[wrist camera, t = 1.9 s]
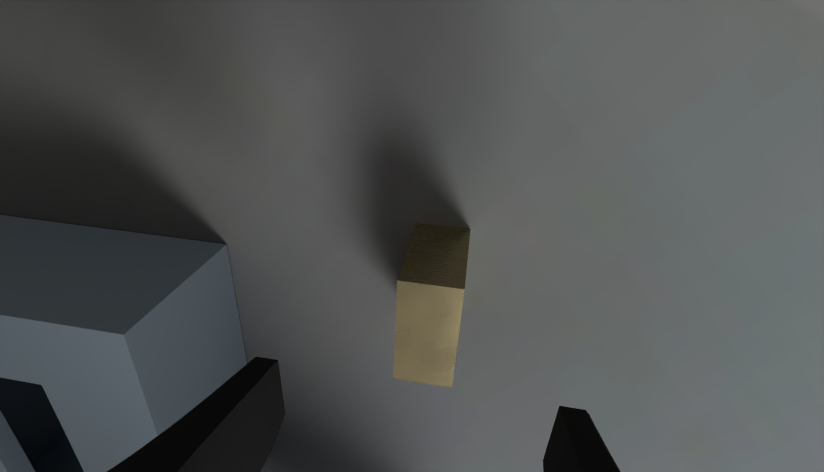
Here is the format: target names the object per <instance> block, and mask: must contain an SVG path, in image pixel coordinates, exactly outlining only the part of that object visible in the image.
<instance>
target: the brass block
mask: <svg viewBox="0 0 824 472" xmlns="http://www.w3.org/2000/svg"><path fill="white" fill-rule="evenodd" d="M469 238H470V229H462V228H454V227H445V226H437V225H428V224H420V223H417V225H416V228H415V231H414V234H413V237H412V240H411V243H410V245H409V248H408V251H407V254H406V257H405V260H404V262H403V265H402V268H401V271H400V274H399V277H398V280H397V298H396V322H395V347H394V371H393V379H399V380H406V381H412V382H418V383H424V384H430V385H436V386H443V387H449V388H452V382H453V375H454V367H455V359H456V352H457V344H458V336H459V328H460V321H461V313H462V305H463V298H464V290H465V280H466V269H467V259H468V249H469Z"/></svg>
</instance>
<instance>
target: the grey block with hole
mask: <svg viewBox="0 0 824 472" xmlns="http://www.w3.org/2000/svg"><path fill="white" fill-rule="evenodd" d="M246 364H247V360H246V354H245V348H244V342H243V336H242V331H241V325H240V319H239V313H238V308H237V302H236V296H235V290H234V284H233V279H232V273H231V267H230V261H229V256H228V250H227V244H220V243H213V242H205V241H197V240H190V239H182V238H174V237H167V236H159V235H151V234H144V233H136V232H128V231H121V230H113V229H105V228H98V227H90V226H82V225H75V224H67V223H59V222H52V221H44V220H36V219H29V218H21V217H13V216H6V215H0V472H107V471H108V470H110V469H111V468H113V467H114V466H116V465H117V464H119V463H120V462H122V461H123V460H125V459H126V458H128V457H129V456H130V455H132V454H133V453H135V452H136V451H138V450H139V449H140V448H142V447H143V446H145V445H146V444H147V443H149V442H150V441H151V440H153V439H154V438H155V437H157V436H158V435H159V434H161V433H162V432H163V431H165V430H166V429H167V428H169V427H170V426H171V425H173V424H174V423H175V422H177V421H178V420H179V419H181V418H182V417H183V416H184V415H186V414H187V413H188V412H189V411H191V410H192V409H193V408H194V407H196V406H197V405H198V404H199V403H201V402H202V401H203V400H204V399H206V398H207V397H208V396H209V395H210V394H212V393H213V392H214V391H215V390H216V389H218V388H219V387H220V386H221V385H222V384H224V383H225V382H226V381H227V380H228V379H230V378H231V377H232V376H233V375H234V374H236V373H237V372H238V371H239V370H240V369H242V368H243V367H244V366H245V365H246Z"/></svg>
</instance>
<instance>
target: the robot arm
mask: <svg viewBox="0 0 824 472" xmlns="http://www.w3.org/2000/svg"><path fill="white" fill-rule="evenodd" d="M284 415H285V410H284V403H283V395H282V387H281V380H280V372H279V364H278V360H274V359H267V358H261V357H255V358H254V359H252V360H251V361H250V362H249V363H248V364H246V365H245V366H244V367H243V368H242V369H240V370H239V371H238V372H237V373H236V374H234V375H233V376H232V377H231V378H230V379H228V380H227V381H226V382H225V383H224V384H222V385H221V386H220V387H219V388H218V389H216V390H215V391H214V392H213V393H212V394H210V395H209V396H208V397H207V398H206V399H204V400H203V401H202V402H201V403H199V404H198V405H197V406H196V407H194V408H193V409H192V410H191V411H189V412H188V413H187V414H186V415H184V416H183V417H182V418H181V419H179V420H178V421H177V422H175V423H174V424H173V425H171V426H170V427H169V428H167V429H166V430H165V431H163V432H162V433H161V434H159V435H158V436H157V437H155V438H154V439H153V440H151V441H150V442H149V443H147V444H146V445H145V446H143V447H142V448H140V449H139V450H138V451H136V452H135V453H133V454H132V455H130V456H129V457H128V458H126V459H125V460H123V461H122V462H120V463H119V464H117V465H116V466H114V467H113V468H111V469H110V470H108V471H107V472H260V471H261V469H262V467H263V465H264V463H265V461H266V459H267V457H268V455H269V453H270V451H271V448H272V446H273V444H274V441H275V439H276V436H277V434H278V431H279V428H280V426H281V423H282V420H283V418H284ZM543 468H544V472H620V470H619V468H618V467H617V465H616V463H615V461H614V460H613V458H612V456H611V454H610V453H609V451H608V449H607V447H606V445H605V444H604V442H603V440H602V438H601V436H600V434H599V432H598V431H597V429H596V427H595V425H594V423H593V421H592V419H591V417H590V415H589V414H588V412H587V411H586V410H582V409H576V408H569V407H563V406H559V409H558V413H557V416H556V419H555V423H554V426H553V429H552V432H551V436H550V439H549V442H548V446H547V449H546V452H545V455H544V459H543Z"/></svg>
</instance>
